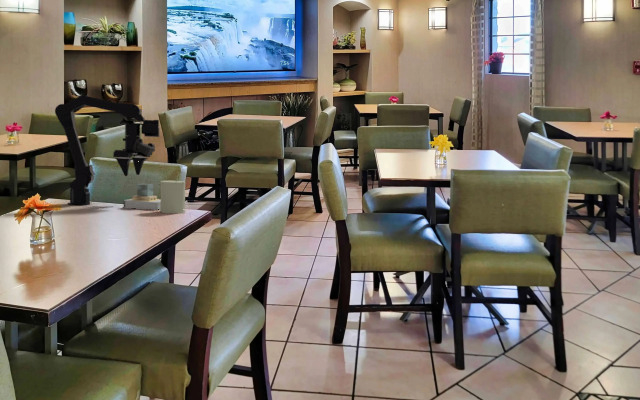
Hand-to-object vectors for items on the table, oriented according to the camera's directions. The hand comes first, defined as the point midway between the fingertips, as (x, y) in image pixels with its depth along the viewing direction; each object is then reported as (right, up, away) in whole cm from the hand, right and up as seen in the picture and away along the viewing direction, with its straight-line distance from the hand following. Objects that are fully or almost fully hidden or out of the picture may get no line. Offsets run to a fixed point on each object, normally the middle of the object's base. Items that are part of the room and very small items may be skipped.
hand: (132, 175), depth 237 cm
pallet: (+6, -10, -5) cm, 13 cm away
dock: (+7, -13, -4) cm, 16 cm away
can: (+20, -15, -14) cm, 28 cm away
